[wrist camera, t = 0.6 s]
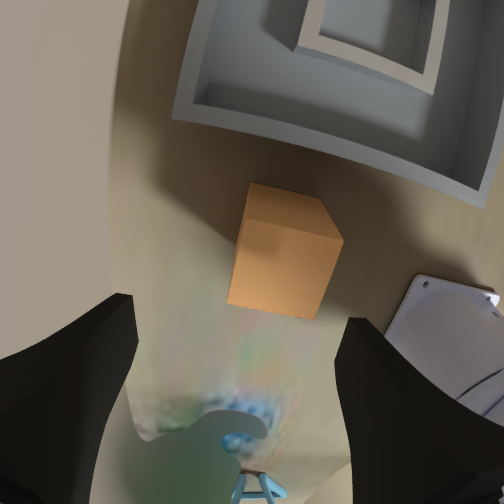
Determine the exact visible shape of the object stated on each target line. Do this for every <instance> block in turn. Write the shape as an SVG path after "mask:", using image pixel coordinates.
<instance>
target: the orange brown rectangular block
mask: <svg viewBox="0 0 504 504" xmlns="http://www.w3.org/2000/svg"><path fill="white" fill-rule="evenodd" d="M343 243H344V240H343V238H342V236H341V234H340V233H339V231H338V229H337V228H336V226H335V224H334V222H333V221H332V219H331V217H330V216H329V214H328V212H327V211H326V209H325V207H324V205H323V204H322V202H321V200H320V199H319V198H315V197H311V196H307V195H303V194H299V193H295V192H291V191H286V190H282V189H278V188H274V187H270V186H265V185H261V184H256V183H252V182H251V183H250V187H249V191H248V196H247V200H246V204H245V209H244V213H243V217H242V222H241V226H240V230H239V235H238V239H237V244H236V249H235V255H234V261H233V267H232V273H231V279H230V285H229V291H228V297H227V304H232V305H237V306H242V307H247V308H252V309H257V310H262V311H268V312H273V313H278V314H284V315H289V316H295V317H300V318H306V319H312V320H314V318H315V316H316V313H317V311H318V308H319V306H320V303H321V301H322V298H323V296H324V293H325V291H326V288H327V286H328V283H329V280H330V278H331V275H332V273H333V270H334V267H335V265H336V262H337V259H338V257H339V254H340V251H341V248H342V246H343Z"/></svg>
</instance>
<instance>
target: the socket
mask: <svg viewBox="0 0 504 504" xmlns="http://www.w3.org/2000/svg"><path fill="white" fill-rule="evenodd" d="M326 2H327V0H306V3H305V7H304V11H303V15H302V19H301V23H300V26H299V30H298V34H297V38H296V42H295V46H294V50H293V52H294V53H298V54H301V55H305V56H309V57H312V58H316V59H319V60H323V61H326V62H329V63H332V64H336V65H339V66H342V67H345V68H348V69H351V70H354V71H357V72H359V73H362V74H365V75H368V76H370V77H373V78H376V79H378V80H381V81H383V82H386V83H388V84H391V85H393V86H396V87H398V88H400V89H403V90H405V91H407V92H410V93H412V94H414V95H433V93H434V88H435V84H436V79H437V75H438V70H439V65H440V60H441V55H442V49H443V44H444V38H445V32H446V25H447V19H448V11H449V3H450V0H421V6H420V12H419V18H418V23H417V29H416V34H415V39H414V45H413V49H412V54H411V59H410V64H409V68H407V67H405V66H403V65H400V64H398V63H396V62H393V61H391V60H389V59H386V58H384V57H381V56H379V55H376V54H374V53H371V52H368V51H366V50H363V49H360V48H357V47H355V46H352V45H349V44H346V43H343V42H340V41H337V40H334V39H330V38H327V37H324V36H321V35H319V31H320V27H321V22H322V18H323V14H324V10H325V6H326Z"/></svg>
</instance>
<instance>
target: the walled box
mask: <svg viewBox="0 0 504 504" xmlns="http://www.w3.org/2000/svg"><path fill="white" fill-rule="evenodd" d="M305 3H306V0H199V2H198V5H197V9H196V12H195V16H194V19H193V23H192V27H191V30H190V34H189V38H188V42H187V46H186V50H185V54H184V58H183V62H182V67H181V71H180V75H179V80H178V85H177V89H176V94H175V99H174V104H173V109H172V114H171V119H174V120H180V121H186V122H192V123H198V124H204V125H209V126H215V127H220V128H225V129H230V130H235V131H240V132H244V133H249V134H254V135H258V136H263V137H267V138H271V139H275V140H279V141H284V142H288V143H291V144H295V145H299V146H303V147H307V148H311V149H314V150H318V151H321V152H325V153H328V154H332V155H335V156H339V157H342V158H345V159H349V160H352V161H355V162H358V163H361V164H365V165H368V166H371V167H374V168H377V169H380V170H383V171H386V172H389V173H392V174H394V175H397V176H400V177H403V178H406V179H408V180H411V181H414V182H417V183H419V184H422V185H424V186H427V187H430V188H432V189H435V190H437V191H440V192H442V193H445V194H447V195H450V196H452V197H455V198H457V199H459V200H462V201H464V202H466V203H469V204H471V205H473V206H475V207H478V208H480V209H482V210H483V208H484V206H485V203H486V200H487V197H488V194H489V192H490V189H491V186H492V183H493V179H494V176H495V173H496V170H497V167H498V163H499V160H500V156H501V153H502V149H503V145H504V0H450V3H449V11H448V19H447V25H446V32H445V38H444V44H443V49H442V55H441V60H440V65H439V70H438V75H437V79H436V84H435V88H434V93H433V95H414V94H412V93H410V92H407V91H405V90H403V89H400V88H398V87H396V86H393V85H391V84H388V83H386V82H383V81H381V80H378V79H376V78H373V77H370V76H368V75H365V74H362V73H359V72H357V71H354V70H351V69H348V68H345V67H342V66H339V65H336V64H332V63H329V62H326V61H323V60H319V59H316V58H312V57H309V56H305V55H301V54H298V53H294V52H293V50H294V46H295V42H296V38H297V34H298V30H299V26H300V23H301V19H302V15H303V11H304V7H305ZM420 6H421V0H327V2H326V6H325V10H324V14H323V18H322V22H321V27H320V31H319V35H321V36H324V37H327V38H330V39H334V40H337V41H340V42H343V43H346V44H349V45H352V46H355V47H357V48H360V49H363V50H366V51H368V52H371V53H374V54H376V55H379V56H381V57H384V58H386V59H389V60H391V61H393V62H396V63H398V64H400V65H403V66H405V67H407V68H409V64H410V59H411V54H412V49H413V45H414V39H415V34H416V29H417V23H418V18H419V12H420Z"/></svg>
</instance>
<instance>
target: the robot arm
mask: <svg viewBox="0 0 504 504" xmlns="http://www.w3.org/2000/svg"><path fill="white" fill-rule="evenodd" d="M426 281H427V283H426V284H425V285H423V284H424V283H425V282H426ZM499 298H500V297H499V295H498V294H497V293H494V292H490V291H486V290H482V289H478V288H474V287H470V286H466V285H462V284H458V283H454V282H450V281H446V280H442V279H438V278H434V277H429V276H425V275H417V276H416V277H415V278H414V279H413V281H412V283H411V285H410V287H409V289H408V291H407V293H406V295H405V298H404V300H403V301H402V303H401V305H400V307H399V309H398V311H397V313H396V315H395V317H394V319H393V321H392V323H391V324H390V326H389V328H388V330H387V332H386V334H385V335H384V336H383V335H382V334H381V333H380V332H379V331H378V330H377V329H376V328H375V327H374V326H373V325H372V324H371V323H370V322H369V321H368V320H367V319H366V318H354V317H349V319H348V322H347V325H346V328H345V331H344V334H343V337H342V340H341V343H340V346H339V349H338V352H337V355H336V358H335V360H334V365H335V377H336V386H337V391H338V395H339V400H340V404H341V409H342V413H343V417H344V422H345V426H346V431H347V435H348V440H349V446H350V453H351V466H352V484H353V504H504V317H503V315H502V314H501V313H500V312H499V311H498V310H497V308H496V305H497V303H498V301H499ZM138 342H139V340H138V334H137V327H136V320H135V312H134V304H133V295H127V294H120V293H115V294H114V295H112V296H110V297H109V298H107V299H106V300H104V301H103V302H101V303H100V304H98V305H97V306H95V307H94V308H93V309H91V310H90V311H88V312H87V313H85V314H84V315H82V316H81V317H79V318H78V319H76V320H75V321H73V322H72V323H71V324H69V325H67V326H65V327H64V328H62V329H61V330H59V331H58V332H56V333H54V334H53V335H51V336H49V337H48V338H46V339H44V340H42V341H40V342H39V343H37V344H35V345H33V346H31V347H29V348H27V349H25V350H22V351H20V352H18V353H15V354H13V355H10V356H8V357H6V358H3V359H1V360H0V504H89V498H90V490H91V485H92V479H93V473H94V468H95V463H96V459H97V455H98V451H99V446H100V443H101V439H102V436H103V432H104V429H105V425H106V422H107V420H108V417H109V415H110V412H111V410H112V408H113V406H114V403H115V401H116V399H117V397H118V394H119V392H120V390H121V388H122V385H123V383H124V381H125V379H126V377H127V374H128V372H129V370H130V368H131V365H132V362H133V359H134V356H135V352H136V349H137V346H138Z"/></svg>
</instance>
